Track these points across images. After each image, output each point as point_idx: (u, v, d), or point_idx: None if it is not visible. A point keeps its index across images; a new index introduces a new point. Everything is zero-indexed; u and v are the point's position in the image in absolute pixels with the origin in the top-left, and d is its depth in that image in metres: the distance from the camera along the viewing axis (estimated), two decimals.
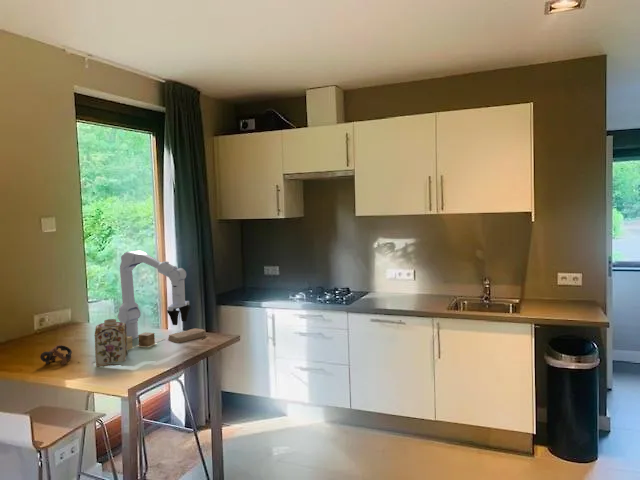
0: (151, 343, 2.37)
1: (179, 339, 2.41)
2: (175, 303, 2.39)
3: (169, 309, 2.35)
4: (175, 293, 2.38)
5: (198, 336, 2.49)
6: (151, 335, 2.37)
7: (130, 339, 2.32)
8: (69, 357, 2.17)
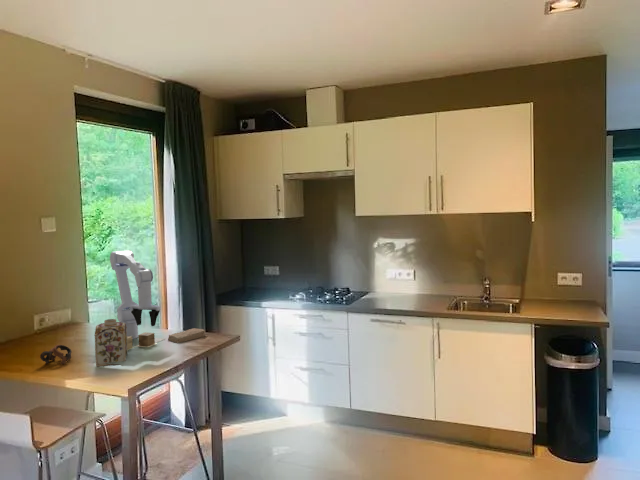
0: (151, 343, 2.37)
1: (180, 339, 2.41)
2: None
3: None
4: (139, 294, 2.34)
5: (198, 336, 2.49)
6: (151, 335, 2.37)
7: (130, 339, 2.32)
8: (69, 357, 2.17)
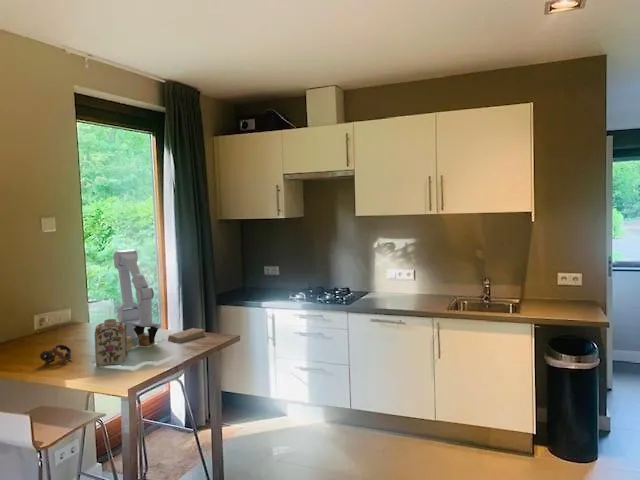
0: (151, 343, 2.37)
1: (181, 339, 2.41)
2: None
3: None
4: (139, 312, 2.35)
5: (198, 336, 2.49)
6: None
7: (130, 339, 2.32)
8: (69, 356, 2.18)
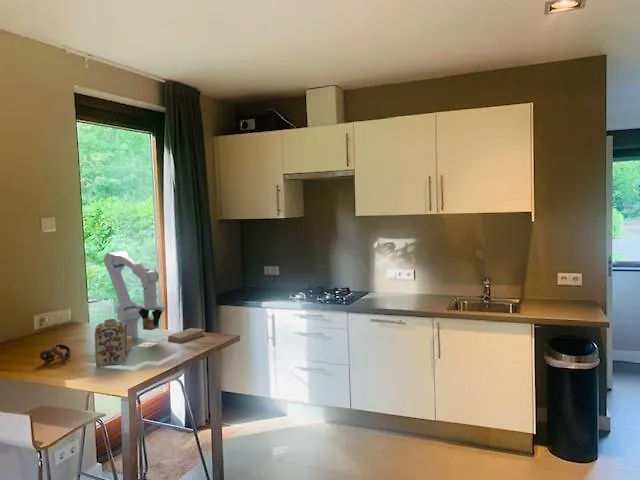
0: (155, 327, 2.41)
1: (181, 339, 2.41)
2: None
3: None
4: (145, 295, 2.39)
5: (197, 335, 2.50)
6: None
7: (130, 339, 2.32)
8: (68, 356, 2.19)
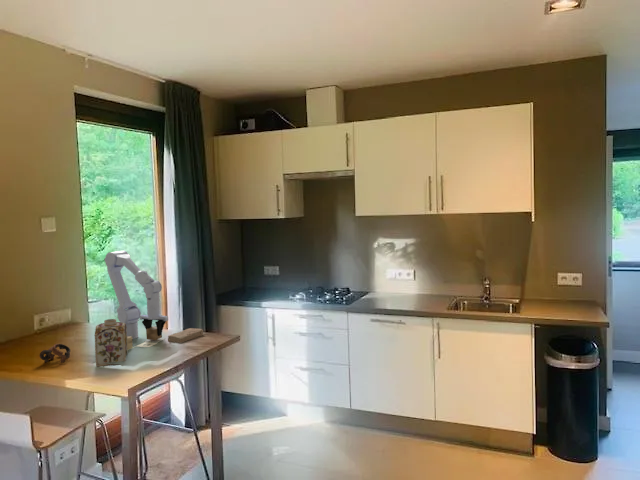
0: (158, 337, 2.44)
1: (182, 339, 2.41)
2: None
3: None
4: (149, 306, 2.41)
5: (197, 335, 2.50)
6: None
7: (130, 339, 2.32)
8: (68, 355, 2.19)
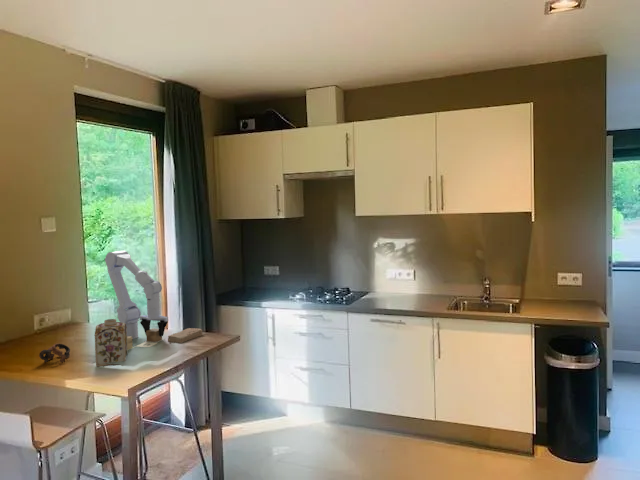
0: (159, 339, 2.44)
1: (182, 338, 2.41)
2: None
3: None
4: (149, 306, 2.41)
5: (196, 335, 2.50)
6: None
7: (130, 339, 2.32)
8: (68, 355, 2.20)
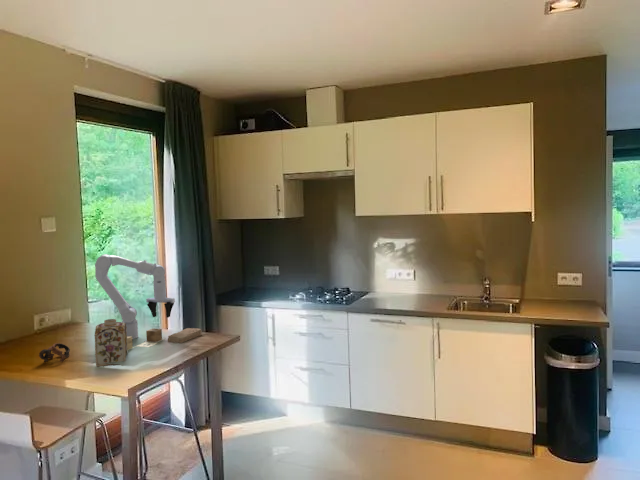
0: (159, 339, 2.44)
1: (183, 338, 2.41)
2: None
3: None
4: (160, 288, 2.51)
5: (196, 335, 2.51)
6: (159, 331, 2.44)
7: (130, 339, 2.32)
8: (67, 355, 2.20)
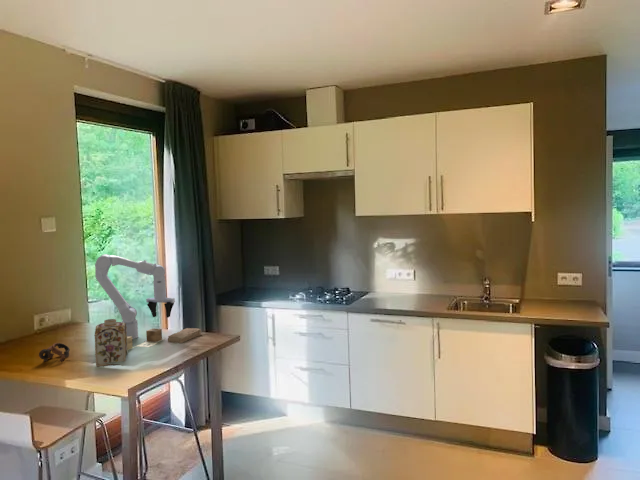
0: (159, 339, 2.44)
1: (183, 338, 2.41)
2: None
3: None
4: (160, 288, 2.51)
5: (196, 335, 2.51)
6: (159, 331, 2.44)
7: (130, 339, 2.32)
8: (67, 354, 2.21)
